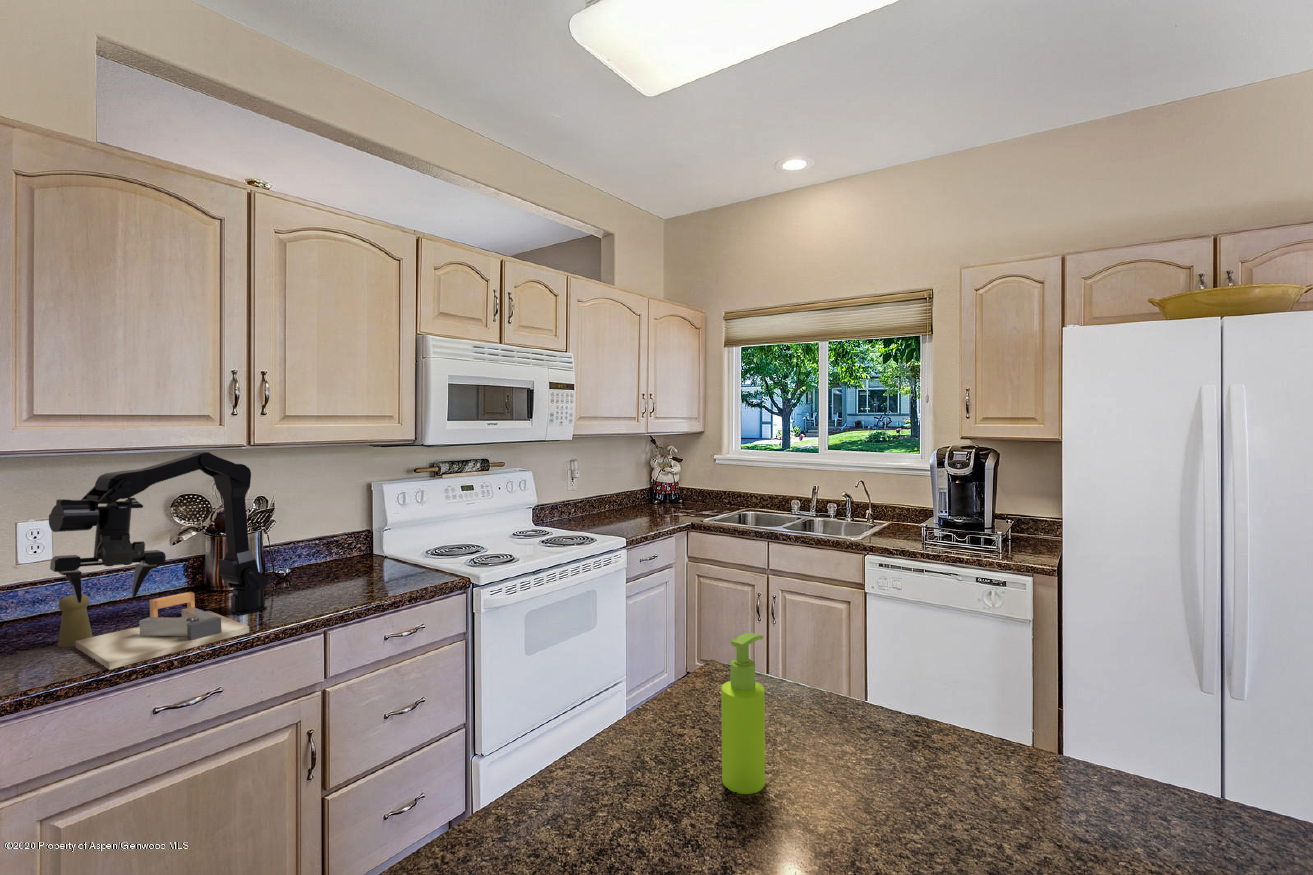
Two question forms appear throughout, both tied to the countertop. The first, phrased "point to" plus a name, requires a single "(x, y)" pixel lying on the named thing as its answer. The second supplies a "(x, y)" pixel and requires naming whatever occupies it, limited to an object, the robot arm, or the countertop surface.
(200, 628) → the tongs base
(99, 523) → the robot arm
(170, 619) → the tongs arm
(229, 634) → the cutting board
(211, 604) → the countertop surface
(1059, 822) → the countertop surface
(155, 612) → the wooden frame
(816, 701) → the countertop surface
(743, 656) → the soap dispenser
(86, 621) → the cork
